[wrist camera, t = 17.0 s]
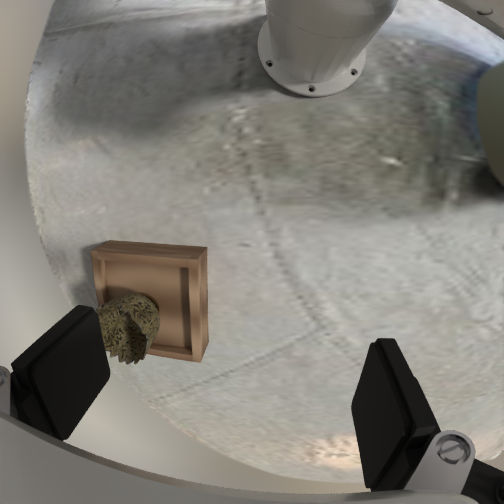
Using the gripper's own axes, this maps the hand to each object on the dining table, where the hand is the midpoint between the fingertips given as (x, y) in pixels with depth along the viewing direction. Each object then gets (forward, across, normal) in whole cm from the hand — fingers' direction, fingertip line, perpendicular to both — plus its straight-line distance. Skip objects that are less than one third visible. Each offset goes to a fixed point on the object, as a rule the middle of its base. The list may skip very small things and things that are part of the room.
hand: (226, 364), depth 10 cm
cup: (+25, +14, +12) cm, 31 cm away
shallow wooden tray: (+29, +14, +12) cm, 34 cm away
